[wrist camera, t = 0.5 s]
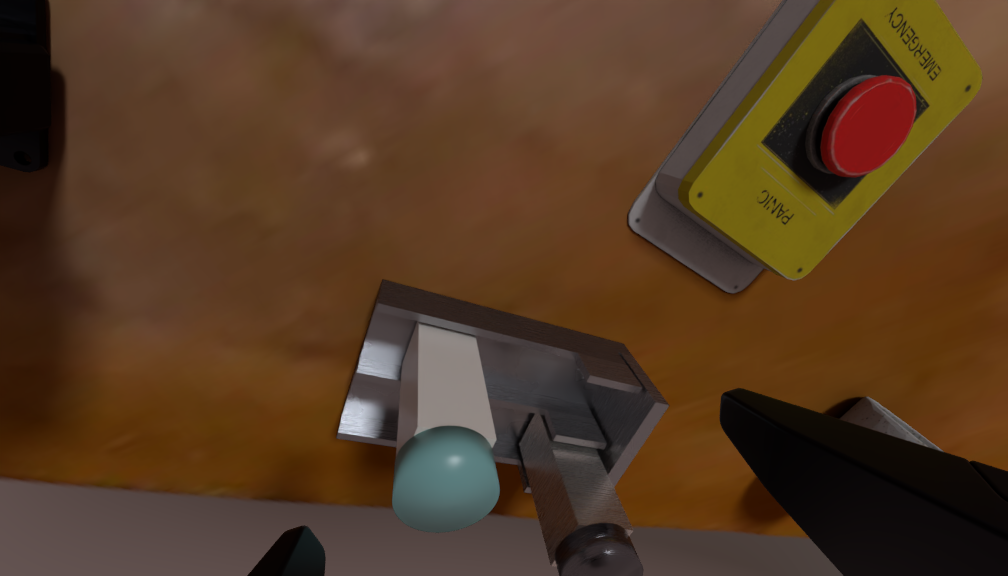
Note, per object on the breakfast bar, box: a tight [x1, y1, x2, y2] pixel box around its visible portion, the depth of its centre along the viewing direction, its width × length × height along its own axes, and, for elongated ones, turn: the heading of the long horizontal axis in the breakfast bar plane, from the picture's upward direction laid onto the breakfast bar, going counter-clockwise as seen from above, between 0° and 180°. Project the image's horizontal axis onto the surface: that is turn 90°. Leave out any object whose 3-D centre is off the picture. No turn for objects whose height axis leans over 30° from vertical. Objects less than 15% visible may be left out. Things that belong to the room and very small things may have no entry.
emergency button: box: [628, 0, 983, 293], centre depth 19 cm, size 9×4×15 cm
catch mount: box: [336, 280, 669, 576], centre depth 20 cm, size 14×8×10 cm, turn 68°
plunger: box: [392, 321, 500, 533], centre depth 17 cm, size 3×3×8 cm
